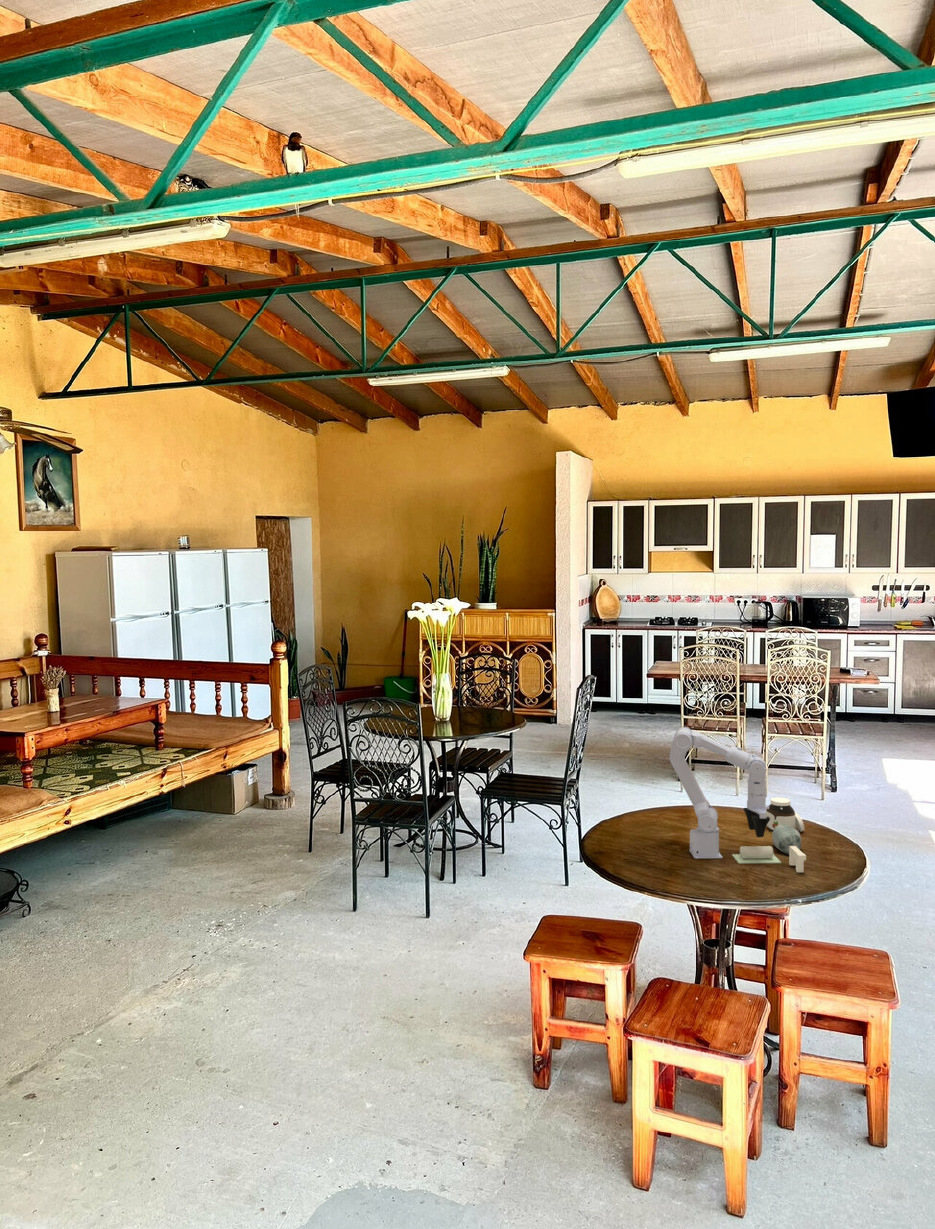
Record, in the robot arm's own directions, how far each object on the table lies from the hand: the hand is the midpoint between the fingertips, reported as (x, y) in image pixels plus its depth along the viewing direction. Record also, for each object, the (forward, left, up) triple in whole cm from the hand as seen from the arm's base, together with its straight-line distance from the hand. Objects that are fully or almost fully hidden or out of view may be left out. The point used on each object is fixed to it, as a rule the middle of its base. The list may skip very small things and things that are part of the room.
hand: (756, 833), depth 291 cm
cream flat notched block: (+10, -10, -9) cm, 16 cm away
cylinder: (0, 0, -9) cm, 9 cm away
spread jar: (+20, +29, -9) cm, 37 cm away
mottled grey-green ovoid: (+13, +8, -9) cm, 18 cm away
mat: (0, 0, -9) cm, 9 cm away
